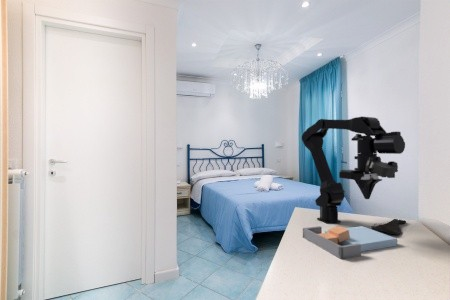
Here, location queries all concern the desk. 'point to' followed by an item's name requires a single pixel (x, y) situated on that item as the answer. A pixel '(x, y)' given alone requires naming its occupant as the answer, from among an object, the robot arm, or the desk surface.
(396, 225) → the black spiral-grooved part
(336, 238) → the tile
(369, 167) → the robot arm
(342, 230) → the tile
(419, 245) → the desk surface
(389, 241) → the board
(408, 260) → the desk surface
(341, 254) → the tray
